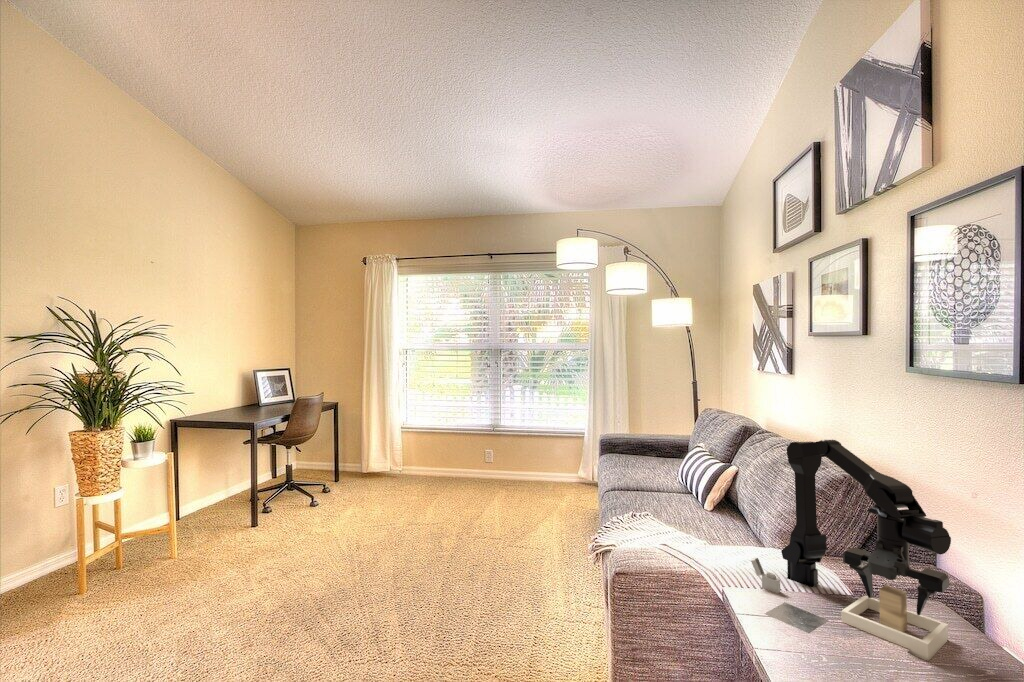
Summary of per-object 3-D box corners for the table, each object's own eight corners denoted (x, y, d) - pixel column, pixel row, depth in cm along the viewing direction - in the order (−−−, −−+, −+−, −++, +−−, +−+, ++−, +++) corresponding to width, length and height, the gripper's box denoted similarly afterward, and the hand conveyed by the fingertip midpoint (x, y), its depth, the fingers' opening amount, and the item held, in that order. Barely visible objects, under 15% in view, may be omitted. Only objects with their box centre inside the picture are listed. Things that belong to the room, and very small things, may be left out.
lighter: (780, 595, 128) (780, 565, 129) (777, 597, 127) (777, 566, 128) (753, 585, 134) (753, 556, 134) (750, 587, 133) (750, 557, 133)
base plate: (764, 617, 117) (764, 613, 117) (784, 606, 123) (784, 602, 123) (808, 637, 109) (808, 633, 109) (828, 624, 114) (828, 620, 114)
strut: (886, 623, 114) (885, 584, 115) (907, 631, 111) (906, 591, 111) (879, 628, 112) (879, 589, 112) (901, 636, 109) (900, 596, 109)
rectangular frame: (841, 625, 114) (841, 610, 114) (865, 609, 122) (864, 595, 122) (928, 661, 101) (927, 644, 101) (948, 640, 109) (947, 624, 109)
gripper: (832, 531, 115) (833, 598, 114) (933, 559, 100) (934, 635, 99) (852, 523, 122) (852, 586, 121) (949, 547, 106) (950, 620, 106)
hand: (893, 605), depth 111 cm, fingers open, 9 cm apart
